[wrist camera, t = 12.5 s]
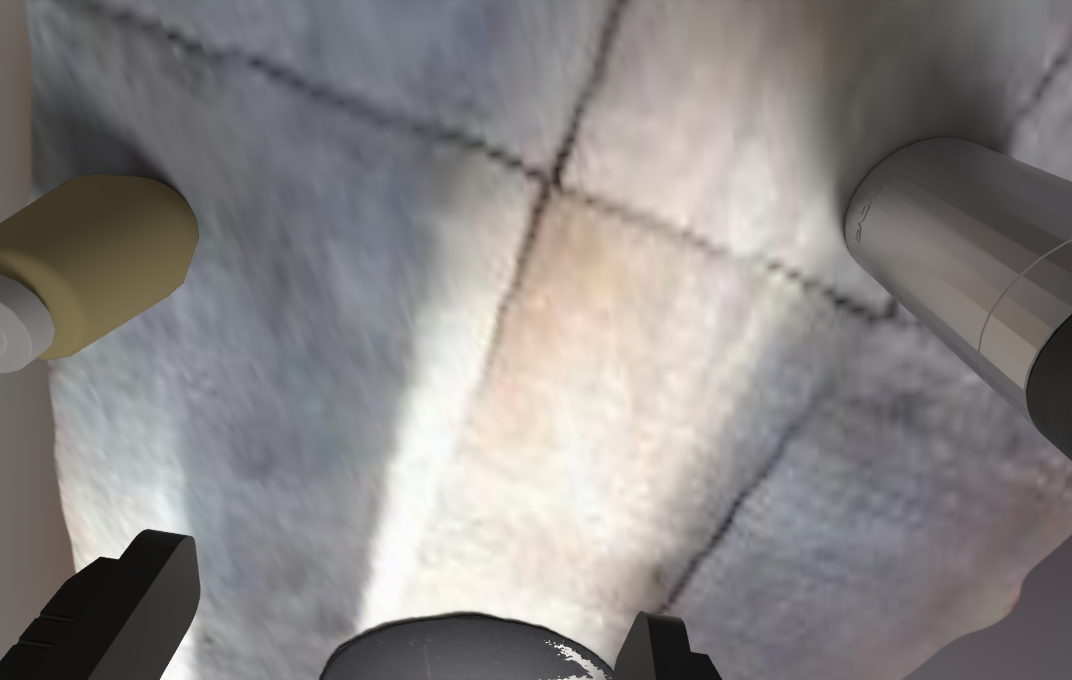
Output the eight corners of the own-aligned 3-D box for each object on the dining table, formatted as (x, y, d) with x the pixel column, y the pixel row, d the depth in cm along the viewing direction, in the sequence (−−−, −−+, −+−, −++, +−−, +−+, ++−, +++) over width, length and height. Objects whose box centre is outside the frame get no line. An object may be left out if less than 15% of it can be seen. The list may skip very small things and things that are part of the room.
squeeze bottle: (119, 129, 36) (-194, 242, 21) (240, 217, 39) (42, 374, 24) (68, 223, 40) (-237, 381, 24) (183, 298, 42) (-25, 483, 27)
